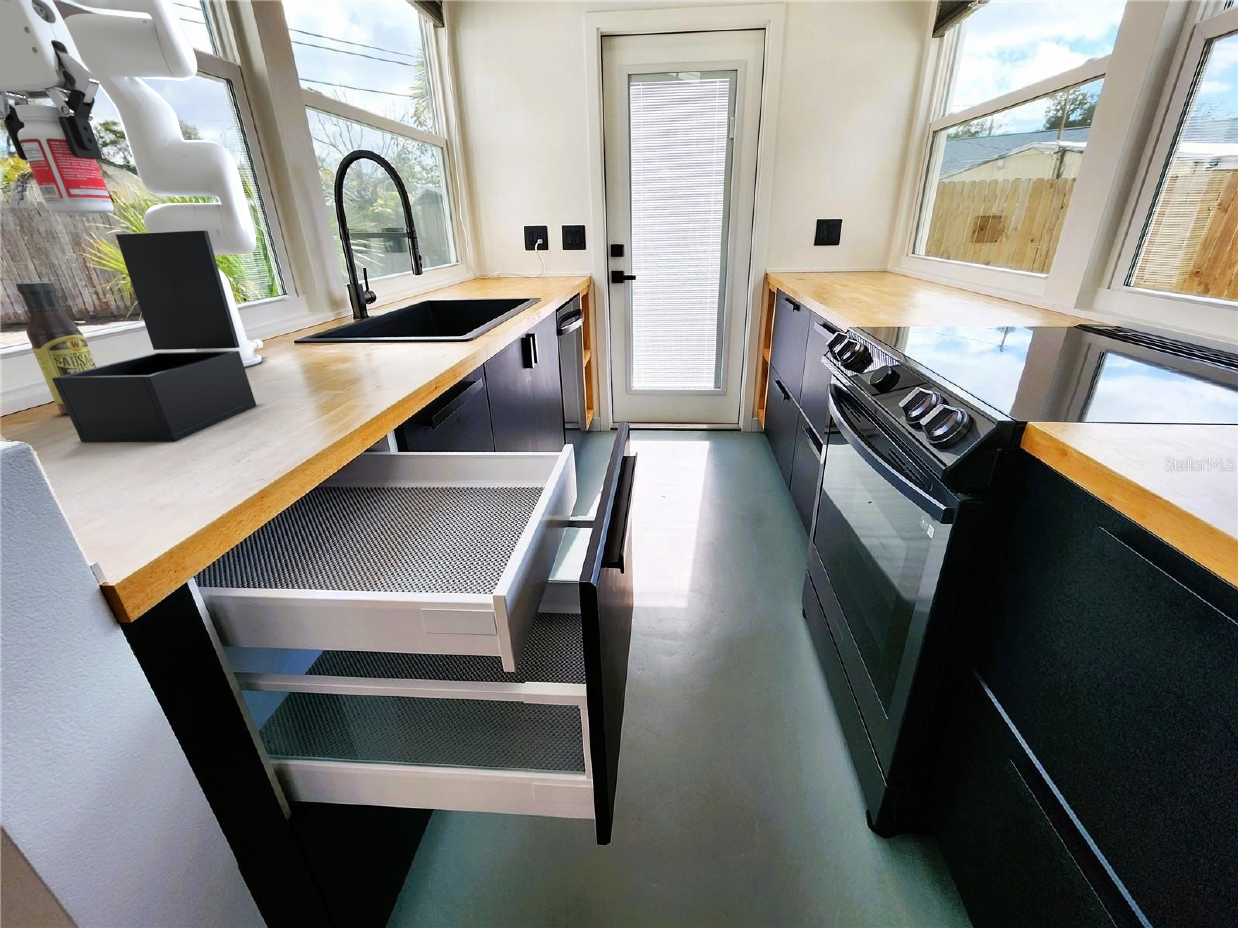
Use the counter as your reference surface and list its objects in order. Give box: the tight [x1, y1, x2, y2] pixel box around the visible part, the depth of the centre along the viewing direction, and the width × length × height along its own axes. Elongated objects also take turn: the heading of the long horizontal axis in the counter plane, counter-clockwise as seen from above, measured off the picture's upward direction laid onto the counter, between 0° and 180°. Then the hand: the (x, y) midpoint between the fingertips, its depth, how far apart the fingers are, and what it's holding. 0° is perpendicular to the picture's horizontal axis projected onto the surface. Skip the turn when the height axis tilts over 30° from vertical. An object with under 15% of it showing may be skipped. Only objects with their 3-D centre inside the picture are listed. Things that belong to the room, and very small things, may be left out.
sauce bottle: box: [15, 281, 97, 415], centre depth 84 cm, size 6×6×20 cm
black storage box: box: [52, 351, 257, 443], centre depth 78 cm, size 16×14×9 cm
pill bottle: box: [14, 104, 115, 214], centre depth 65 cm, size 6×6×11 cm
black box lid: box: [115, 230, 240, 351], centre depth 82 cm, size 17×14×5 cm
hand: (61, 158), depth 65 cm, fingers closed on pill bottle, 6 cm apart
